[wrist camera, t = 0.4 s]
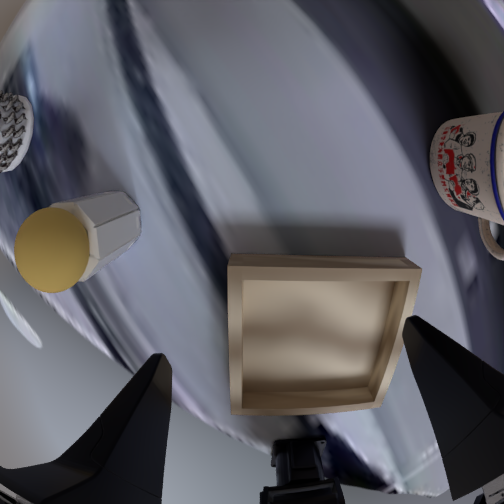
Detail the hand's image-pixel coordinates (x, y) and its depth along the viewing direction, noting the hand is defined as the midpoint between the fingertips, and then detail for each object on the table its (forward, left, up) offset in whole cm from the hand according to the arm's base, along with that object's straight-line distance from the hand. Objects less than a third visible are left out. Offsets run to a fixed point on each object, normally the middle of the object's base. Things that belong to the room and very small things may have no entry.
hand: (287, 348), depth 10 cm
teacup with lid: (+7, -18, -14) cm, 24 cm away
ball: (+2, +13, -5) cm, 14 cm away
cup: (+2, +13, -13) cm, 19 cm away
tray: (-8, -4, -13) cm, 16 cm away
